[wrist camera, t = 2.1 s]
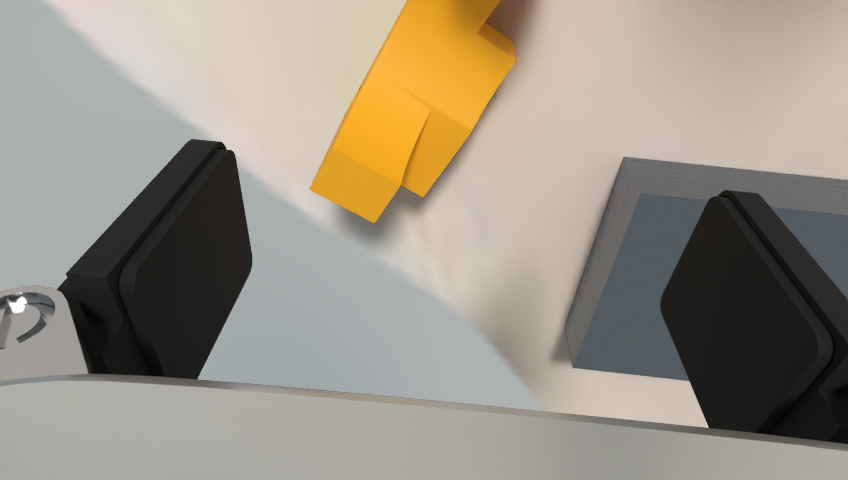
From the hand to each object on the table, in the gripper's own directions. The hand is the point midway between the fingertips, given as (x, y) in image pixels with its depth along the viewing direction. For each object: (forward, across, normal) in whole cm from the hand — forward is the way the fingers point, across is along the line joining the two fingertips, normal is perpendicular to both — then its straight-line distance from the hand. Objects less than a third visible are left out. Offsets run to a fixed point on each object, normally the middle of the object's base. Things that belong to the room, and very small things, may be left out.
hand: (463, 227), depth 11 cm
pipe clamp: (+13, 0, -1) cm, 13 cm away
